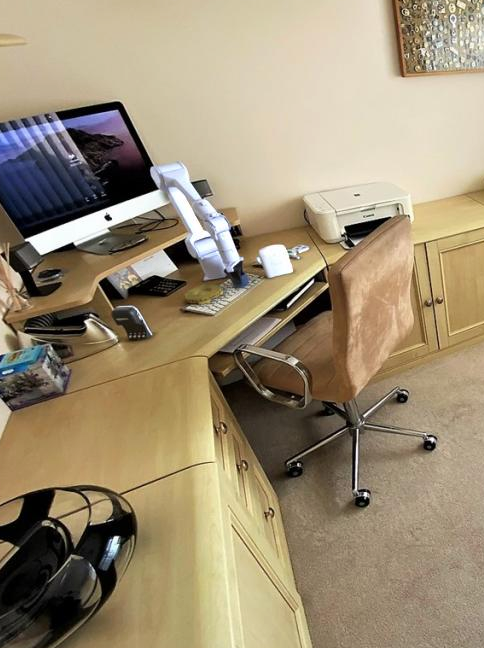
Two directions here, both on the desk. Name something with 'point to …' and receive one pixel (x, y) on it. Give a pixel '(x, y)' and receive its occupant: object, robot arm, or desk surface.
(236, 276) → the robot arm
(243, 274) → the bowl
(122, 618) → the desk surface
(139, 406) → the desk surface
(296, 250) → the robot figure
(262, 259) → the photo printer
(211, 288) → the gold flat disc
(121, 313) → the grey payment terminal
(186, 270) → the desk surface
